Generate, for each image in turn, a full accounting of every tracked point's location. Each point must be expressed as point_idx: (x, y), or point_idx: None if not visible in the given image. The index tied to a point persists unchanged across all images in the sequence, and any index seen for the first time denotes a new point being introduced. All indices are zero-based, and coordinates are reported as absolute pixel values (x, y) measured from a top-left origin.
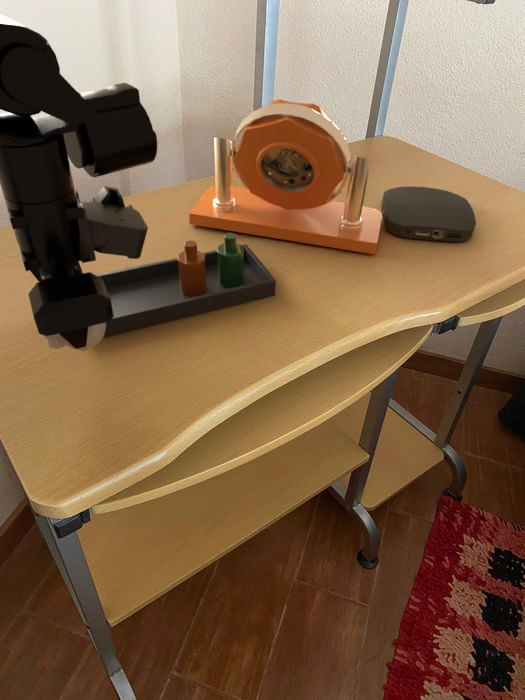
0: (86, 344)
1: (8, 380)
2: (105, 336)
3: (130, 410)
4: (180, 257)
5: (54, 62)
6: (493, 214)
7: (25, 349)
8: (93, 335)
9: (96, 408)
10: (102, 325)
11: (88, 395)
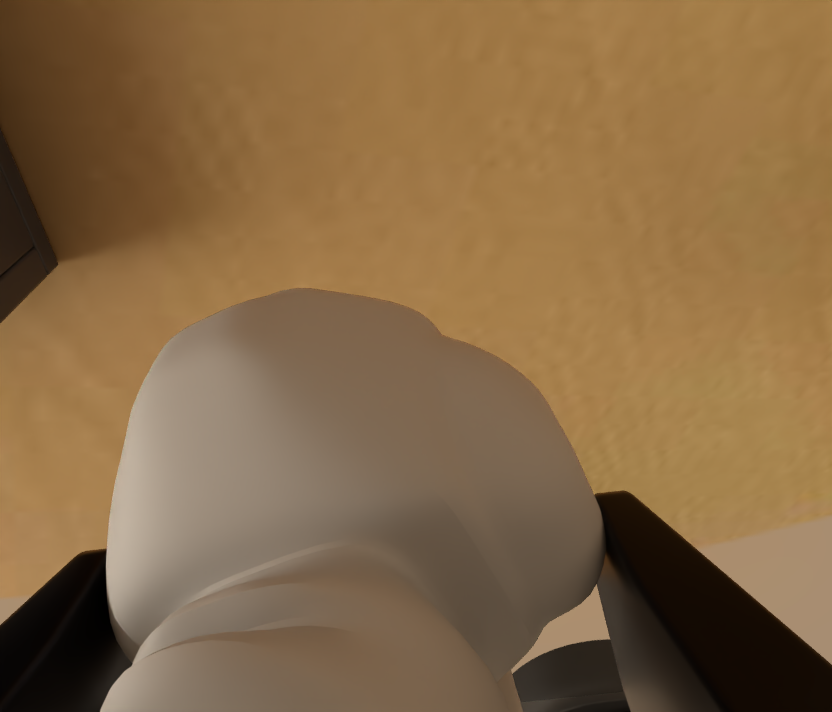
0: (634, 498)
1: None
2: (15, 166)
3: (738, 83)
4: None
5: None
6: None
7: None
8: (572, 461)
9: (632, 263)
10: (398, 364)
11: (523, 294)
